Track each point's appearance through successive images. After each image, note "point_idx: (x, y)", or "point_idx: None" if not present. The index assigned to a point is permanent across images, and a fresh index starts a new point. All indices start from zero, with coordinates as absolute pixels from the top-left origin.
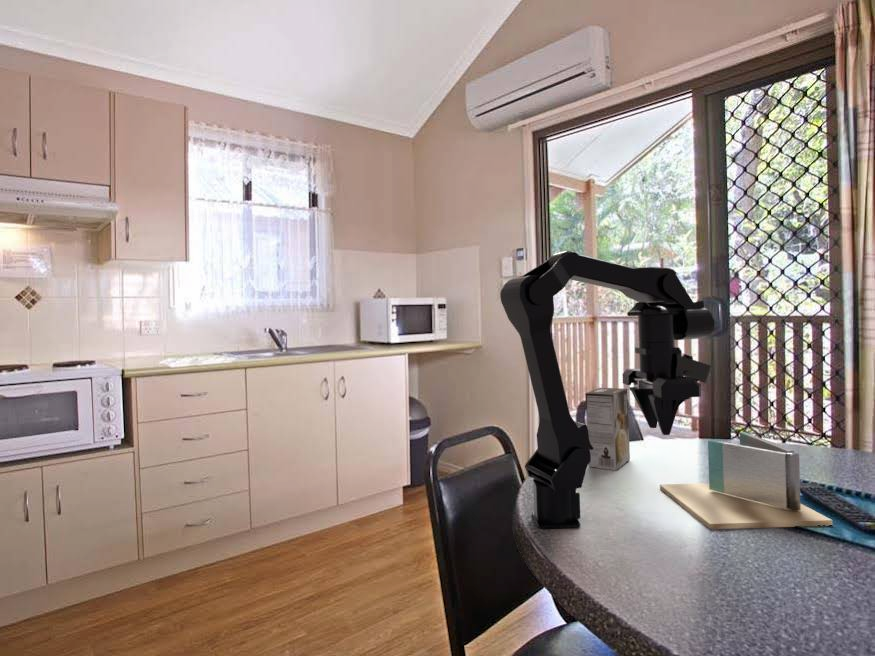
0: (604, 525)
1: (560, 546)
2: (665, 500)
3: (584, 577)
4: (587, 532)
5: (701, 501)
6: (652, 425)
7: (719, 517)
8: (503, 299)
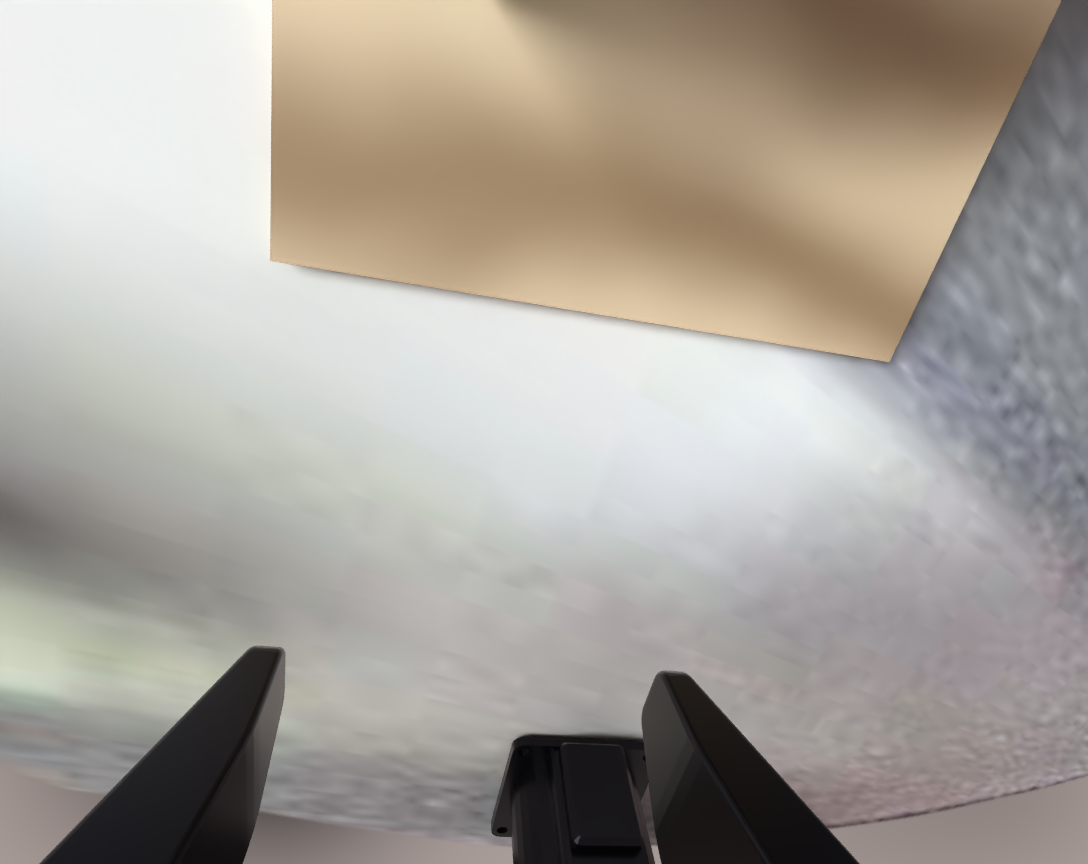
0: None
1: None
2: (482, 334)
3: (913, 792)
4: None
5: (635, 199)
6: (278, 711)
7: (860, 267)
8: None
